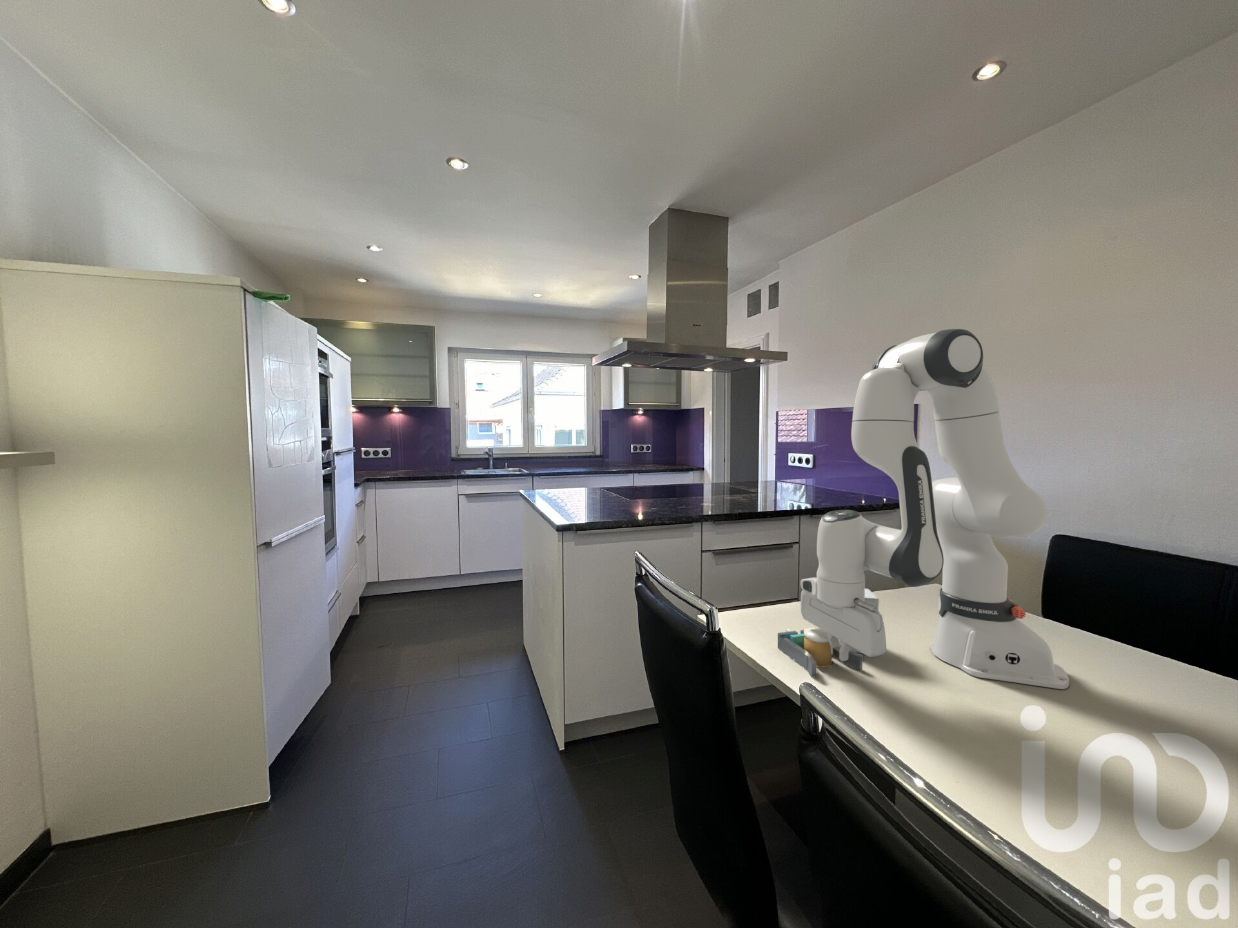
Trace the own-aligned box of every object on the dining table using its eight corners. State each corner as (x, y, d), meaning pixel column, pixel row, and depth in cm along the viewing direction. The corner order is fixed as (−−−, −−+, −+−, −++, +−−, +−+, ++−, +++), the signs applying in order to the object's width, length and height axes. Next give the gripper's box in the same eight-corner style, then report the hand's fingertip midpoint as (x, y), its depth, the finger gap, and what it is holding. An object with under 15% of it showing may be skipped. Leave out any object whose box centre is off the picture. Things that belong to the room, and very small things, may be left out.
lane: (863, 670, 96) (863, 653, 95) (812, 677, 93) (812, 660, 92) (820, 642, 109) (820, 627, 108) (774, 648, 106) (774, 633, 105)
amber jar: (833, 657, 101) (834, 631, 101) (830, 669, 96) (831, 641, 96) (805, 651, 104) (806, 625, 104) (801, 662, 99) (802, 635, 99)
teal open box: (821, 648, 105) (821, 633, 105) (792, 652, 103) (792, 636, 103) (800, 634, 112) (800, 620, 112) (773, 638, 110) (773, 623, 110)
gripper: (895, 607, 85) (894, 680, 85) (819, 575, 104) (819, 635, 105) (867, 611, 83) (866, 686, 84) (795, 578, 103) (795, 639, 104)
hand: (839, 657), depth 95 cm, fingers closed
